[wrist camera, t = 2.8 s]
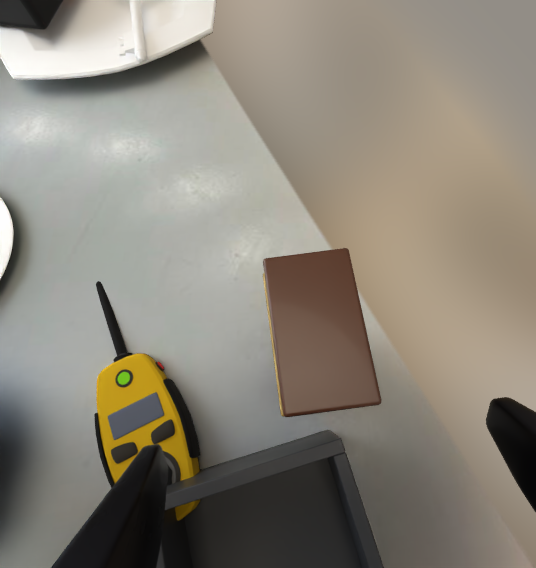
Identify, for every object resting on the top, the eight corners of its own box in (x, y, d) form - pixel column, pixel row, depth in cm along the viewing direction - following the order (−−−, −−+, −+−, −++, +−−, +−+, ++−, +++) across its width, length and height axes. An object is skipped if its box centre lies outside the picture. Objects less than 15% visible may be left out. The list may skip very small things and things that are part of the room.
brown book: (334, 400, 14) (386, 406, 7) (280, 407, 14) (281, 420, 7) (318, 310, 15) (349, 244, 9) (268, 317, 15) (260, 255, 9)
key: (102, -52, 28) (154, -55, 28) (107, -38, 29) (157, -42, 29) (110, 57, 24) (169, 51, 25) (115, 69, 25) (172, 63, 26)
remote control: (119, 555, 16) (52, 289, 21) (136, 541, 18) (70, 299, 23) (215, 502, 16) (125, 257, 22) (221, 494, 18) (137, 269, 24)
